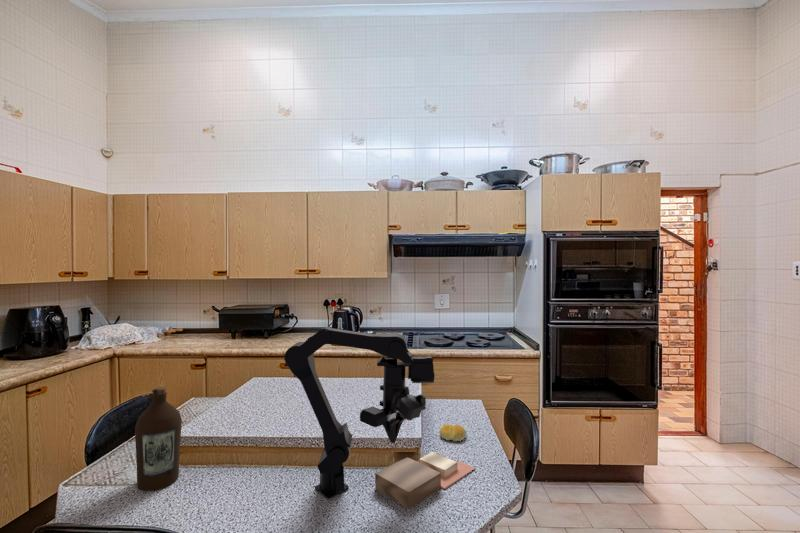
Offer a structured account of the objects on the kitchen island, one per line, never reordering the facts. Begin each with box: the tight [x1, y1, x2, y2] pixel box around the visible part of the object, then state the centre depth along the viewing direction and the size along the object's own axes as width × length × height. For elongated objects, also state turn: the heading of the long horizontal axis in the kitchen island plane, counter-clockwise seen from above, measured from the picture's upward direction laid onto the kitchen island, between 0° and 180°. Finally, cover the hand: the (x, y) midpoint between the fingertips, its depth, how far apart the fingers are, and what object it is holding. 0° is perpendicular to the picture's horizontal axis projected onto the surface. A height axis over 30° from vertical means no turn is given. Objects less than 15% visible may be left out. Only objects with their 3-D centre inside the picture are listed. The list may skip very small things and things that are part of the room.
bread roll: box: [439, 424, 467, 442], centre depth 127 cm, size 8×9×4 cm
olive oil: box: [134, 386, 183, 492], centre depth 101 cm, size 11×11×25 cm
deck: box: [374, 457, 442, 510], centre depth 97 cm, size 12×12×4 cm
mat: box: [441, 460, 476, 490], centre depth 106 cm, size 14×14×1 cm
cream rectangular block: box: [419, 451, 458, 477], centre depth 106 cm, size 9×6×2 cm, turn 47°
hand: (392, 442), depth 98 cm, fingers closed
